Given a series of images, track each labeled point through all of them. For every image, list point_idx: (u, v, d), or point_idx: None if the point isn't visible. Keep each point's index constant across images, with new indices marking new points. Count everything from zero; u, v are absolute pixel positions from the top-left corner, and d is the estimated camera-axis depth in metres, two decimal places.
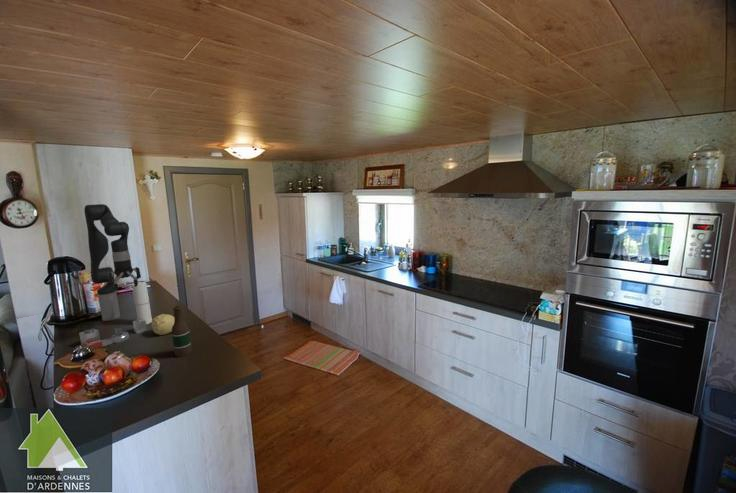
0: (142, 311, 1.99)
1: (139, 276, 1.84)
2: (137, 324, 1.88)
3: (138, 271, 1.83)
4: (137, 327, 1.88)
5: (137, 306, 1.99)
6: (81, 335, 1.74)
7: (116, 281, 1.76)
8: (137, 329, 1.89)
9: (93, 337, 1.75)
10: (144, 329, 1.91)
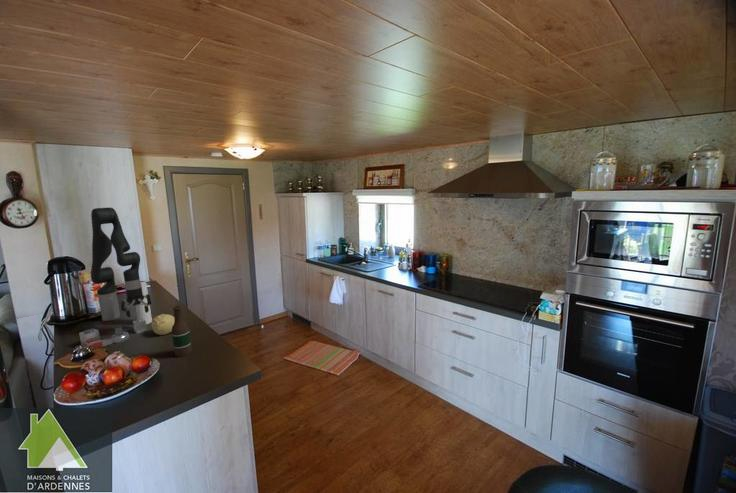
0: (142, 311, 1.99)
1: (150, 302, 1.93)
2: (137, 324, 1.88)
3: (149, 298, 1.93)
4: (137, 327, 1.88)
5: (137, 306, 1.99)
6: (81, 335, 1.74)
7: (128, 308, 1.85)
8: (137, 329, 1.89)
9: (93, 337, 1.75)
10: (144, 329, 1.91)
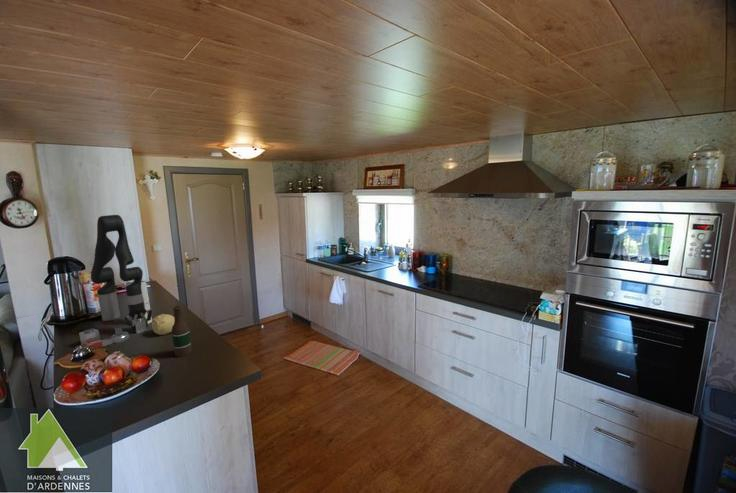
0: None
1: (149, 318, 1.94)
2: (137, 324, 1.88)
3: (150, 313, 1.94)
4: (137, 327, 1.88)
5: None
6: (81, 335, 1.74)
7: (133, 323, 1.88)
8: (137, 329, 1.89)
9: (93, 337, 1.75)
10: (144, 329, 1.91)
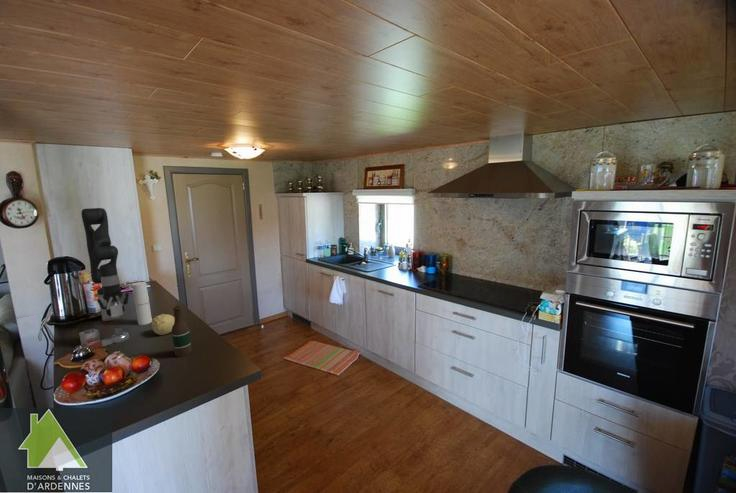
0: (142, 311, 1.99)
1: (126, 302, 1.80)
2: (112, 307, 1.74)
3: (127, 297, 1.80)
4: (112, 311, 1.75)
5: (137, 306, 1.99)
6: (81, 335, 1.74)
7: (108, 306, 1.74)
8: (112, 313, 1.75)
9: (93, 337, 1.75)
10: (120, 313, 1.77)
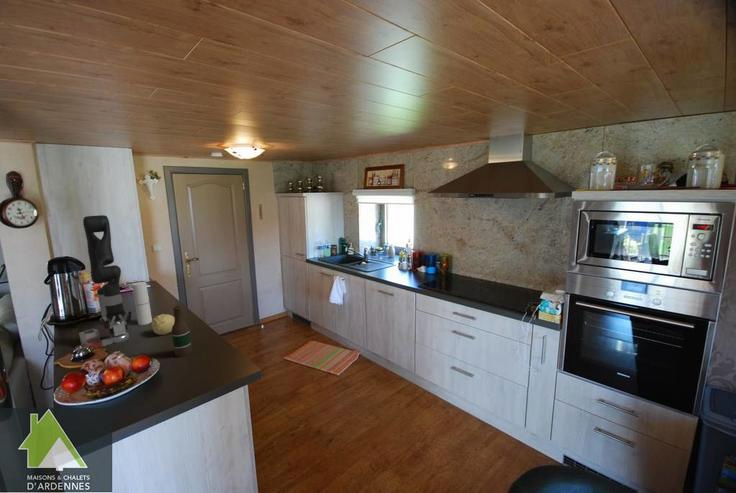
0: (142, 311, 1.99)
1: (128, 320, 1.82)
2: (115, 326, 1.76)
3: (129, 315, 1.82)
4: (115, 330, 1.76)
5: (137, 306, 1.99)
6: (81, 335, 1.74)
7: (111, 325, 1.76)
8: (115, 332, 1.76)
9: (93, 337, 1.75)
10: (123, 332, 1.79)
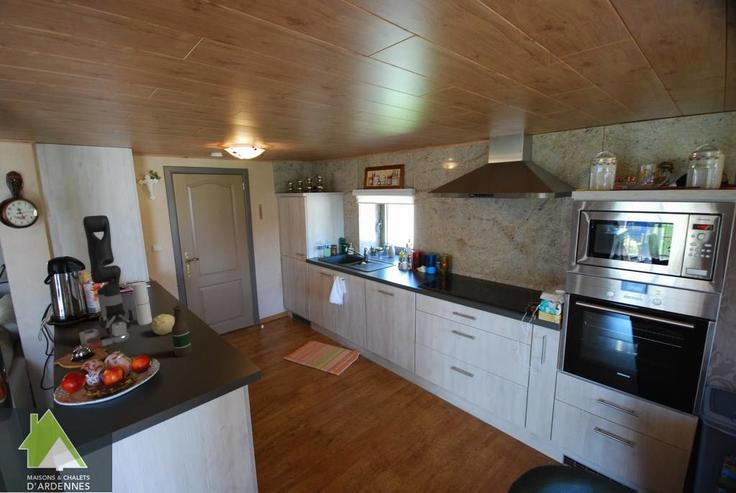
0: (142, 311, 1.99)
1: (131, 318, 1.83)
2: (117, 327, 1.77)
3: (130, 313, 1.82)
4: (116, 330, 1.77)
5: (137, 306, 1.99)
6: (81, 335, 1.74)
7: (108, 325, 1.75)
8: (116, 332, 1.77)
9: (93, 337, 1.75)
10: (123, 333, 1.79)
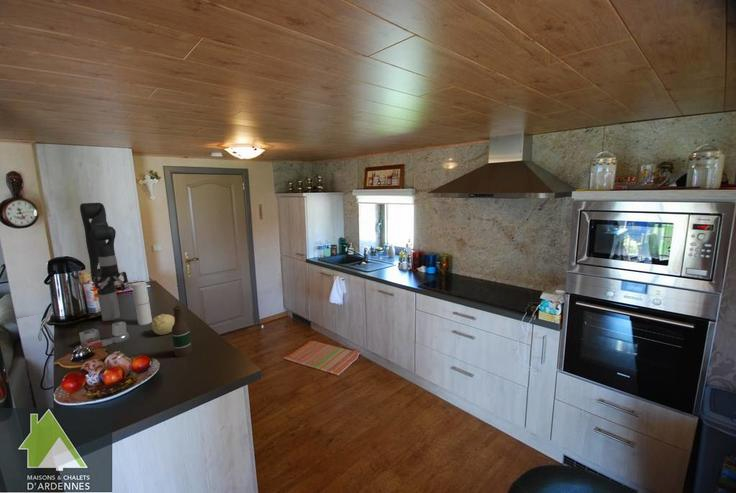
0: (142, 311, 1.99)
1: (126, 280, 1.83)
2: (117, 327, 1.77)
3: (125, 275, 1.83)
4: (116, 330, 1.77)
5: (137, 306, 1.99)
6: (81, 335, 1.74)
7: (102, 286, 1.75)
8: (116, 332, 1.77)
9: (93, 337, 1.75)
10: (123, 333, 1.79)
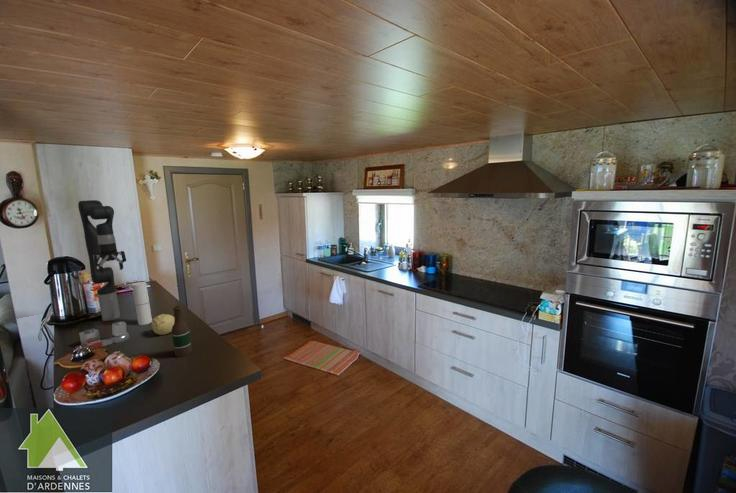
0: (142, 311, 1.99)
1: (124, 260, 1.88)
2: (117, 327, 1.77)
3: (123, 255, 1.87)
4: (116, 330, 1.77)
5: (137, 306, 1.99)
6: (81, 335, 1.74)
7: (101, 264, 1.80)
8: (116, 332, 1.77)
9: (93, 337, 1.75)
10: (123, 333, 1.79)
